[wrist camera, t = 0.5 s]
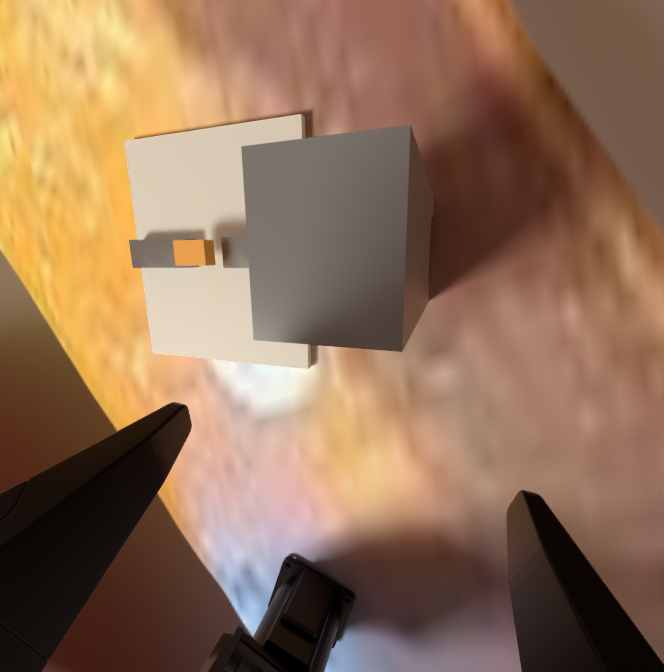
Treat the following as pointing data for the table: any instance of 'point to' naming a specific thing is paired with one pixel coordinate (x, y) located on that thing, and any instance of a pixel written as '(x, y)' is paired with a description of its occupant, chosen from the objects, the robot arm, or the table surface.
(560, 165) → the table surface
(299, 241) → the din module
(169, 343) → the board
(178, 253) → the block
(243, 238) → the din rail
